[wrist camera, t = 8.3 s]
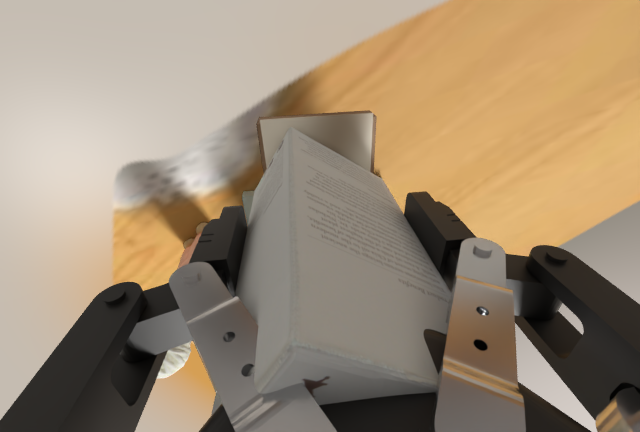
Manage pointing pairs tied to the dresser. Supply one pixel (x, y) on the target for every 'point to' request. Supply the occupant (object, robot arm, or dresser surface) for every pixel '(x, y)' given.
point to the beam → (324, 134)
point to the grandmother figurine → (181, 353)
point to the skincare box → (336, 281)
